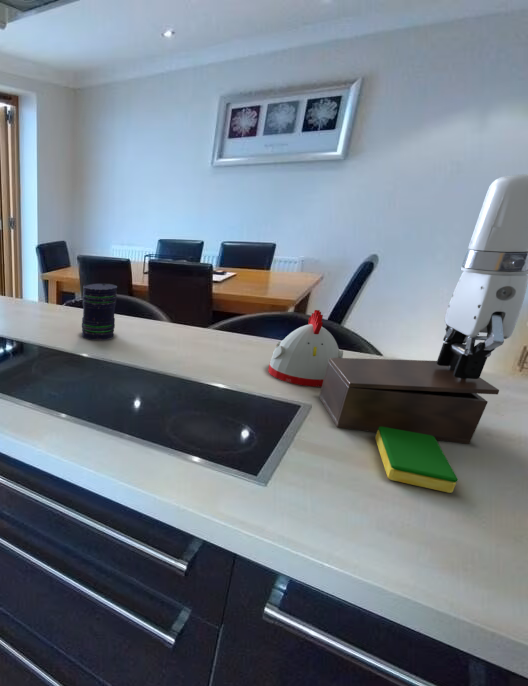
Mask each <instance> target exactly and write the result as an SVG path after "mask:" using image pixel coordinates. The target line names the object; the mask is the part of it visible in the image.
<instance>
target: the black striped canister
mask: <svg viewBox="0 0 528 686" xmlns="http://www.w3.org/2000/svg"><path fill="white" fill-rule="evenodd" d="M82 287H83V288H82V289H83V291H82V307H83V309H82V310H83V311H82V318H81V336H82V338H83V339H87V340H91V341H106V340H111V339H113V338H114V337H115V336H114V335H115V334H114V333H115V329H116V328H115V327H116V322H115V321H116V318H115V309H116V304H117V297H118V296H117V290H118V286H117V285H116V284H112V283H106V282H100V283H99V282H96V283H87V284H84V285H83V286H82Z"/></svg>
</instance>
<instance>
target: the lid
mask: <svg viewBox="0 0 528 686" xmlns="http://www.w3.org/2000/svg"><path fill="white" fill-rule="evenodd" d="M465 347H466V346H464V345H463V344H461V343H454V344H452V345H451V346H450V347H449V350H450V351H451V352H452V356H451V359H450V363H449V366H439V365H438V364H437V360H425V359H423V360H421V359H420V360H419V359H389V358H388V359H386V358H355V357H354V358H353V357H347V358H346V357H343V358H329V362H330V363H331V365H332V366H333V367H334V369H335V370H336V371H337V372H338V374H339V375H340V376H341V378H342V379H343V380H344V381H345V383H346V384H347V385H348V387H355V388H375V389H396V390H416V391H436V392H457V393H477V394H478V395H482V394H483V395H499V392H500V389H499V388H497V387H496V386H494V385H493V384H491V383H489V382H487V381H486V380H485V379H483V378H482V377H481V376H480V377H479V378H478V379H468V378H456V377H454V376H453V373H454V370H455V368H456V364H457V361H458V357H460V354H465Z"/></svg>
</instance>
